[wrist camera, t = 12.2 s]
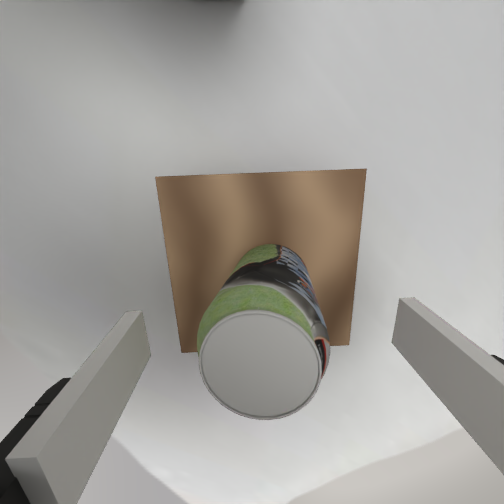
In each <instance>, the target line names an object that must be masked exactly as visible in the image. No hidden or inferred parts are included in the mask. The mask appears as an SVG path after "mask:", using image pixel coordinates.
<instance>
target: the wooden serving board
mask: <svg viewBox="0 0 504 504" xmlns="http://www.w3.org/2000/svg"><path fill="white" fill-rule="evenodd" d="M366 171H367V169H346V170H320V171H293V172H267V173H241V174H215V175H189V176H163V177H155V179H156V186H157V192H158V199H159V206H160V212H161V219H162V226H163V232H164V239H165V246H166V252H167V259H168V266H169V272H170V279H171V286H172V292H173V299H174V306H175V313H176V319H177V326H178V333H179V339H180V346H181V353H188V352H198V350H197V333H198V329H199V324H200V322H201V319H202V317H203V315H204V313H205V311H206V310H207V308H208V307H209V305H210V304H211V302H212V301H213V300H214V298H215V297H216V295H217V294H218V292H219V291H220V289H221V288H222V286H223V285H224V283H225V282H226V280H227V279H228V277H229V276H230V275H231V273H232V272H233V270H234V269H235V267H236V266H237V264H238V263H239V261H240V260H241V258H242V257H243V256H244V255H245V254H246V253H247V252H248V251H250V250H251V249H253V248H255V247H257V246H261V245H265V244H276V245H281V246H285V247H287V248H289V249H291V250H292V251H294V252H295V253H296V254H297V255H298V256H299V257H300V258H301V259H302V260H303V262H304V263H305V266H306V268H307V270H308V273H309V276H310V279H311V282H312V285H313V288H314V291H315V294H316V297H317V300H318V303H319V306H320V309H321V312H322V316H323V319H324V322H325V325H326V328H327V331H328V335H329V339H330V346H340V345H349V341H350V331H351V321H352V311H353V301H354V291H355V281H356V271H357V261H358V251H359V241H360V231H361V221H362V211H363V201H364V191H365V181H366Z"/></svg>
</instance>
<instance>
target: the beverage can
mask: <svg viewBox="0 0 504 504" xmlns="http://www.w3.org/2000/svg"><path fill="white" fill-rule="evenodd" d="M197 350H198V356H199V368H200V374H201V376H202V379H203V382H204V384H205V386H206V387H207V389H208V391H209V392H210V393H211V394H212V396H213V397H214V398H215V399H216V400H217V401H218V402H219V403H220V404H221V405H223V406H224V407H226V408H227V409H229V410H230V411H232V412H234V413H236V414H239V415H241V416H244V417H248V418H252V419H258V420H272V419H279V418H283V417H286V416H289V415H291V414H293V413H296V412H298V411H299V410H300V409H302V408H303V407H305V406H306V405H307V404H308V403H309V401H310V400H311V399H312V398H313V396H314V395H315V393H316V392H317V389H318V387H319V384H320V381H321V379H322V377H323V376H324V374H325V371H326V368H327V366H328V362H329V356H330V339H329V335H328V331H327V328H326V325H325V322H324V319H323V316H322V312H321V309H320V306H319V303H318V300H317V297H316V294H315V291H314V288H313V285H312V282H311V279H310V276H309V273H308V270H307V268H306V266H305V263H304V262H303V260H302V259H301V258H300V257H299V256H298V255H297V254H296V253H295V252H294V251H292V250H291V249H289V248H287V247H285V246H281V245H276V244H265V245H261V246H257V247H255V248H253V249H251V250H250V251H248V252H247V253H246V254H245V255H244V256H243V257H242V258H241V260H240V261H239V263H238V264H237V266H236V267H235V269H234V270H233V272H232V273H231V275H230V276H229V277H228V279H227V280H226V282H225V283H224V285H223V286H222V288H221V289H220V291H219V292H218V294H217V295H216V297H215V298H214V300H213V301H212V302H211V304H210V305H209V307H208V308H207V310H206V311H205V313H204V315H203V317H202V319H201V322H200V324H199V329H198V333H197Z"/></svg>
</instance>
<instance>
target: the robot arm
mask: <svg viewBox="0 0 504 504" xmlns="http://www.w3.org/2000/svg"><path fill="white" fill-rule="evenodd" d="M392 344H393V345H394V346H395V347H396V348H397V350H398V351H399V352H400V353H401V354H402V356H403V357H404V358H405V359H406V360H407V361H408V363H409V364H410V365H411V366H412V367H413V368H414V370H415V371H416V372H417V373H418V374H419V376H420V377H421V378H422V379H423V380H424V381H425V383H426V384H427V385H428V386H429V387H430V389H431V390H432V391H433V392H434V393H435V394H436V396H437V397H438V398H439V399H440V400H441V401H442V403H443V404H444V405H445V406H446V407H447V409H448V410H449V411H450V412H451V413H452V414H453V416H454V417H455V418H456V419H457V420H458V422H459V423H460V424H461V425H462V426H463V427H464V429H465V430H466V431H467V432H468V433H469V434H470V436H471V437H472V438H473V439H474V440H475V442H476V443H477V444H478V445H479V446H480V447H481V448H482V450H483V451H484V452H485V453H486V454H487V456H488V457H489V458H490V459H491V460H492V461H493V463H494V464H495V465H496V466H497V468H498V469H499V470H500V471H501V472H502V473H503V475H504V360H503V359H501V358H499V357H497V356H495V355H490V354H488V353H487V352H486V351H484V350H483V349H482V348H480V347H479V346H478V345H476V344H475V343H474V342H472V341H471V340H470V339H468V338H467V337H466V336H464V335H463V334H462V333H461V332H459V331H458V330H457V329H455V328H454V327H453V326H451V325H450V324H449V323H447V322H446V321H445V320H443V319H442V318H441V317H439V316H438V315H437V314H435V313H434V312H433V311H431V310H430V309H429V308H427V307H426V306H425V305H424V304H422V303H421V302H420V301H418V300H417V299H416V298H399V304H398V310H397V315H396V321H395V326H394V332H393V338H392ZM150 356H151V352H150V348H149V343H148V338H147V333H146V328H145V324H144V319H143V314H142V311H126V312H125V314H124V315H123V316H122V317H121V319H120V320H119V321H118V322H117V323H116V325H115V326H114V327H113V328H112V329H111V331H110V332H109V333H108V334H107V336H106V337H105V338H104V339H103V340H102V342H101V343H100V344H99V345H98V346H97V348H96V349H95V350H94V351H93V353H92V354H91V355H90V356H89V357H88V359H87V360H86V361H85V362H84V364H83V365H82V366H81V367H80V368H79V370H78V371H77V372H76V373H75V374H74V376H73V377H72V378H63V379H61V380H60V381H59V382H57V383H56V384H55V385H53V386H52V387H51V388H49V389H48V390H47V391H46V392H45V393H44V394H43V395H42V397H41V398H40V399H39V400H38V401H37V402H36V403H35V406H34V407H32V408H31V409H30V410H29V411H28V412H27V413H26V415H25V417H24V418H23V419H21V420H20V421H19V422H18V424H17V425H16V426H15V427H14V428H13V429H12V430H11V431H10V433H9V434H8V435H7V436H6V437H5V438H4V439H3V440H2V442H1V443H0V504H77V503H78V500H79V499H80V496H81V494H82V493H83V490H84V489H85V486H86V484H87V482H88V480H89V478H90V476H91V474H92V472H93V470H94V468H95V466H96V464H97V462H98V460H99V458H100V456H101V454H102V452H103V450H104V448H105V446H106V444H107V442H108V440H109V438H110V436H111V434H112V432H113V430H114V428H115V426H116V424H117V422H118V420H119V418H120V416H121V414H122V412H123V410H124V408H125V406H126V404H127V402H128V400H129V398H130V396H131V394H132V392H133V390H134V388H135V386H136V384H137V382H138V380H139V378H140V376H141V374H142V372H143V370H144V368H145V366H146V364H147V362H148V360H149V358H150Z"/></svg>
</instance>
